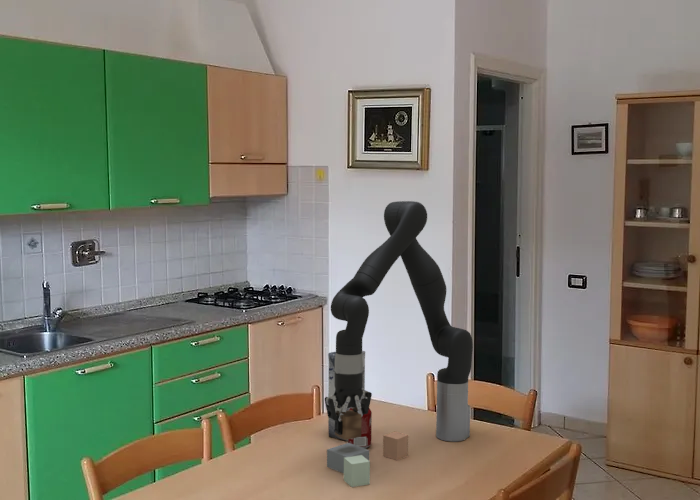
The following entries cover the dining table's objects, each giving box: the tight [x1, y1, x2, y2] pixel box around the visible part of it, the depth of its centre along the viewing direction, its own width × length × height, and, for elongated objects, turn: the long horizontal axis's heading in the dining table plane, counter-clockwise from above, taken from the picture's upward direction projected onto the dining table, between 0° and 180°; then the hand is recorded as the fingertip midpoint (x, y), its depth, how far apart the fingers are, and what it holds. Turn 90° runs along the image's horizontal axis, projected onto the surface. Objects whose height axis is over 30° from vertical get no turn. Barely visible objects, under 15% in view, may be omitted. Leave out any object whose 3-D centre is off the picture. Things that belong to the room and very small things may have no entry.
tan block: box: [382, 431, 410, 461], centre depth 219 cm, size 5×5×6 cm
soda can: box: [347, 403, 373, 449], centre depth 226 cm, size 7×7×12 cm
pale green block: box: [343, 455, 371, 488], centre depth 200 cm, size 5×5×6 cm
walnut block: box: [335, 410, 361, 441], centre depth 209 cm, size 5×5×6 cm
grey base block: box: [326, 442, 370, 474], centre depth 210 cm, size 8×8×5 cm
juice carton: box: [327, 350, 366, 442], centre depth 235 cm, size 9×10×27 cm
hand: (347, 432), depth 209 cm, fingers closed on walnut block, 5 cm apart
